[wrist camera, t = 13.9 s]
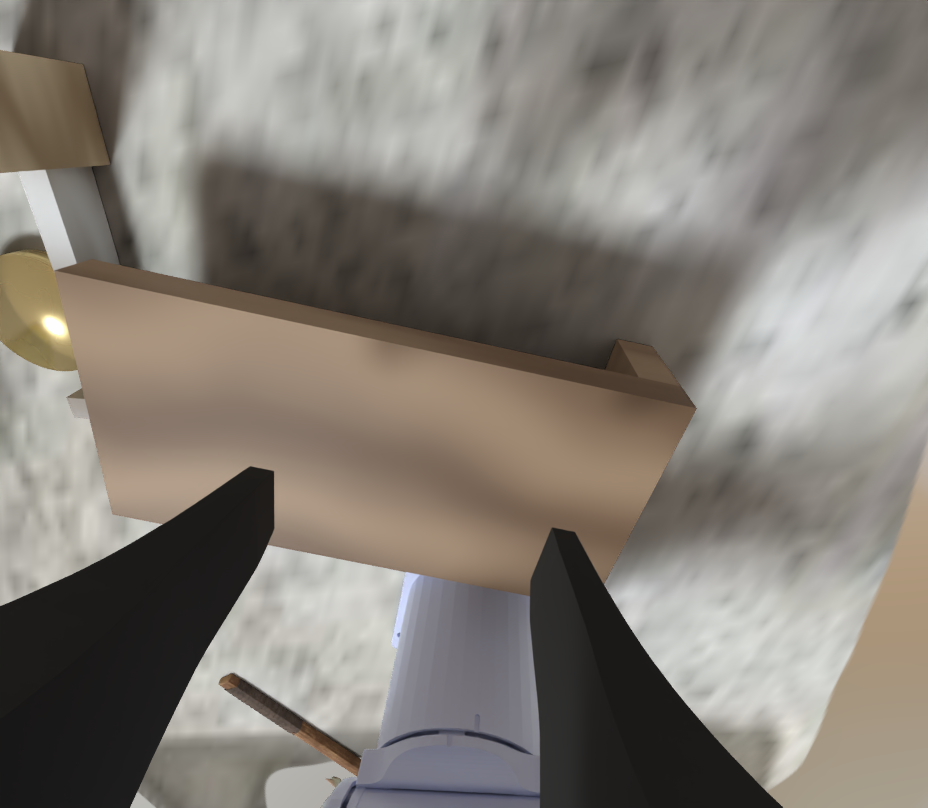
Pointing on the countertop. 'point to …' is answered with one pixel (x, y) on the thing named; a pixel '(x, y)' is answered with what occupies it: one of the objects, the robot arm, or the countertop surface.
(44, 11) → the countertop surface
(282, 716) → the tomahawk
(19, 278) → the brass disc
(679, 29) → the countertop surface
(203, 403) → the low wooden bench
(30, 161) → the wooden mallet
